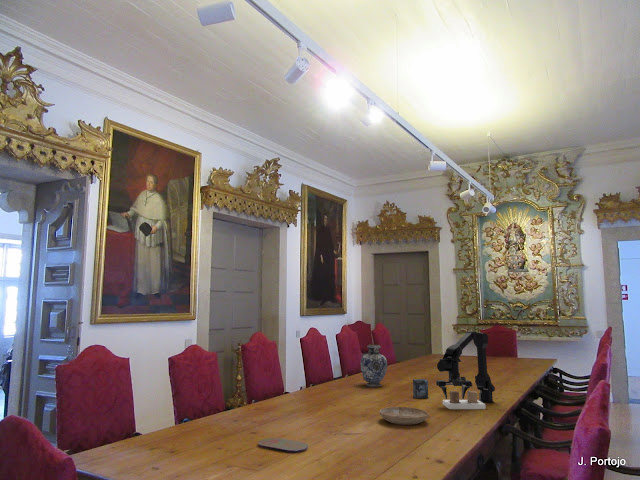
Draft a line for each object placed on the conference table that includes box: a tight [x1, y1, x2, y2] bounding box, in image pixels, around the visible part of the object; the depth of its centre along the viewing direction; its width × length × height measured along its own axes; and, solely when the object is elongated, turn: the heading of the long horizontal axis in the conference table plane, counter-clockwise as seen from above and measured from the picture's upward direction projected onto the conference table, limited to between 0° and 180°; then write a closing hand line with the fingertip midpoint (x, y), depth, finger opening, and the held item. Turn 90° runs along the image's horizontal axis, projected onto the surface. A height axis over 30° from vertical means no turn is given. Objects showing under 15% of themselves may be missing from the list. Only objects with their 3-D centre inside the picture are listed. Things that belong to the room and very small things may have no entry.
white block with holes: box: [442, 390, 487, 410], centre depth 261 cm, size 20×12×8 cm, turn 91°
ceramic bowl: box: [379, 406, 429, 426], centre depth 227 cm, size 23×24×5 cm
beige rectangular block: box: [449, 390, 460, 403], centre depth 260 cm, size 4×4×8 cm
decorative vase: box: [359, 343, 388, 388], centre depth 328 cm, size 21×19×28 cm
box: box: [412, 378, 429, 399], centre depth 286 cm, size 8×6×11 cm
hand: (454, 399), depth 260 cm, fingers open, 9 cm apart
